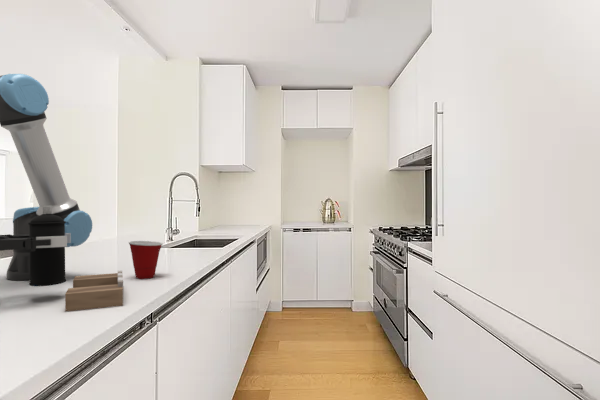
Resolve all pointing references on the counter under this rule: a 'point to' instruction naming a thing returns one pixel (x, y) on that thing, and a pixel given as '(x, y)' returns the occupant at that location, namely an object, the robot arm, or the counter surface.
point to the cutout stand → (95, 292)
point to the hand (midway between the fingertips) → (68, 239)
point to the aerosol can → (47, 250)
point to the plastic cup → (145, 258)
